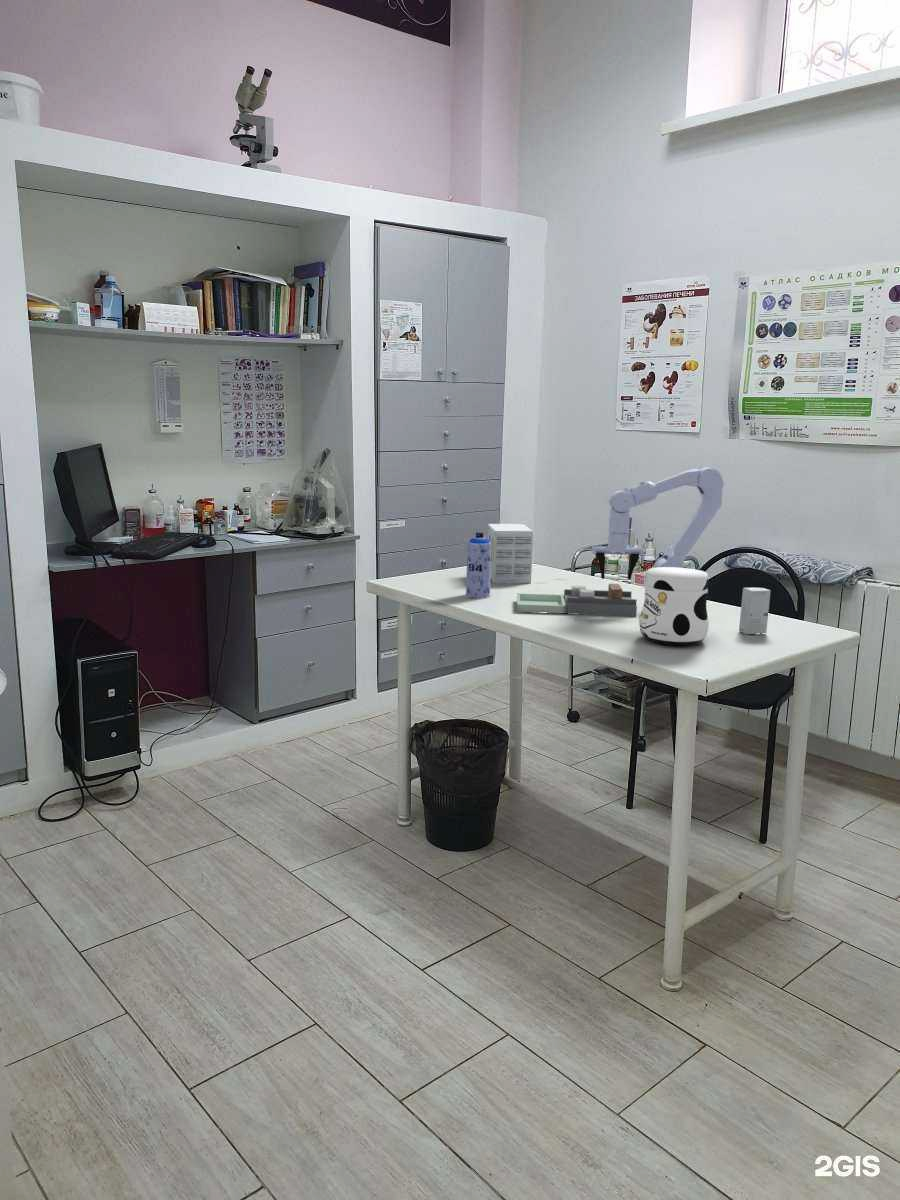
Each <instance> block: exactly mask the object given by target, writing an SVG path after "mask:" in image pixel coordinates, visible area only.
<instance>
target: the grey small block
mask: <svg viewBox="0 0 900 1200" xmlns="http://www.w3.org/2000/svg"><path fill="white" fill-rule="evenodd" d="M570 589H571V596H572V597H579V591H580V589H587V587H586V585H571V588H570Z"/></svg>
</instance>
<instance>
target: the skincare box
mask: <svg viewBox="0 0 900 1200" xmlns="http://www.w3.org/2000/svg"><path fill="white" fill-rule="evenodd" d="M770 600H771V590H770V589H767V588H765V587H743V588H742V596H741V605H740V615H739V616H740V618H739V627H738V631H739V632H740V631H741V632H743V633H745V634H744V635H746V634H755V635H758V634H757V633H766V634H767V631H768V630H767V629H768V622H769V621H768V620H769V610H770ZM741 632H740V633H741ZM743 633H742V634H743Z"/></svg>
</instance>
